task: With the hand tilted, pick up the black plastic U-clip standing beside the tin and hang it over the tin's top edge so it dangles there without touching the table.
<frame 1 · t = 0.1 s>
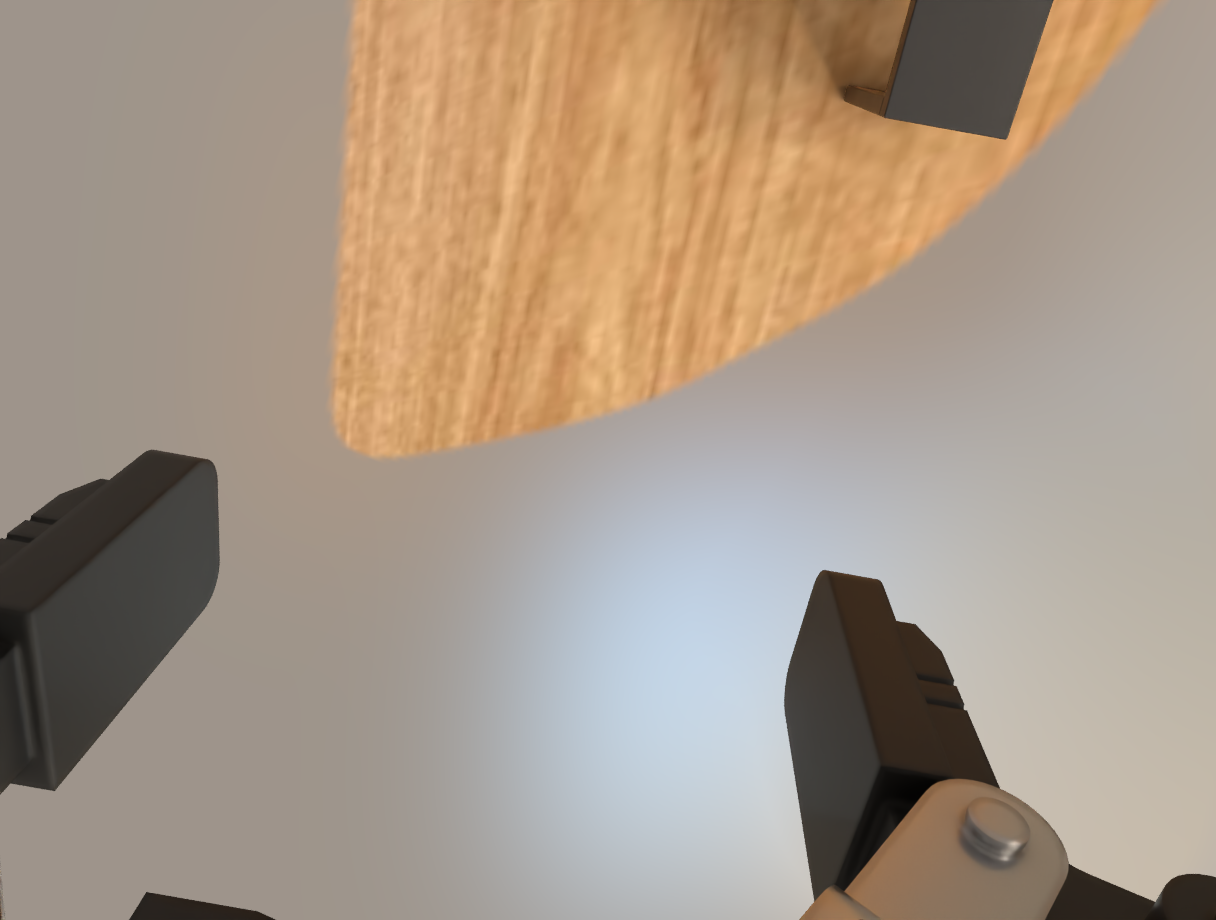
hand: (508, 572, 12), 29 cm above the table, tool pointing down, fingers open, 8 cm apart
clip: (912, 38, 35), on the table
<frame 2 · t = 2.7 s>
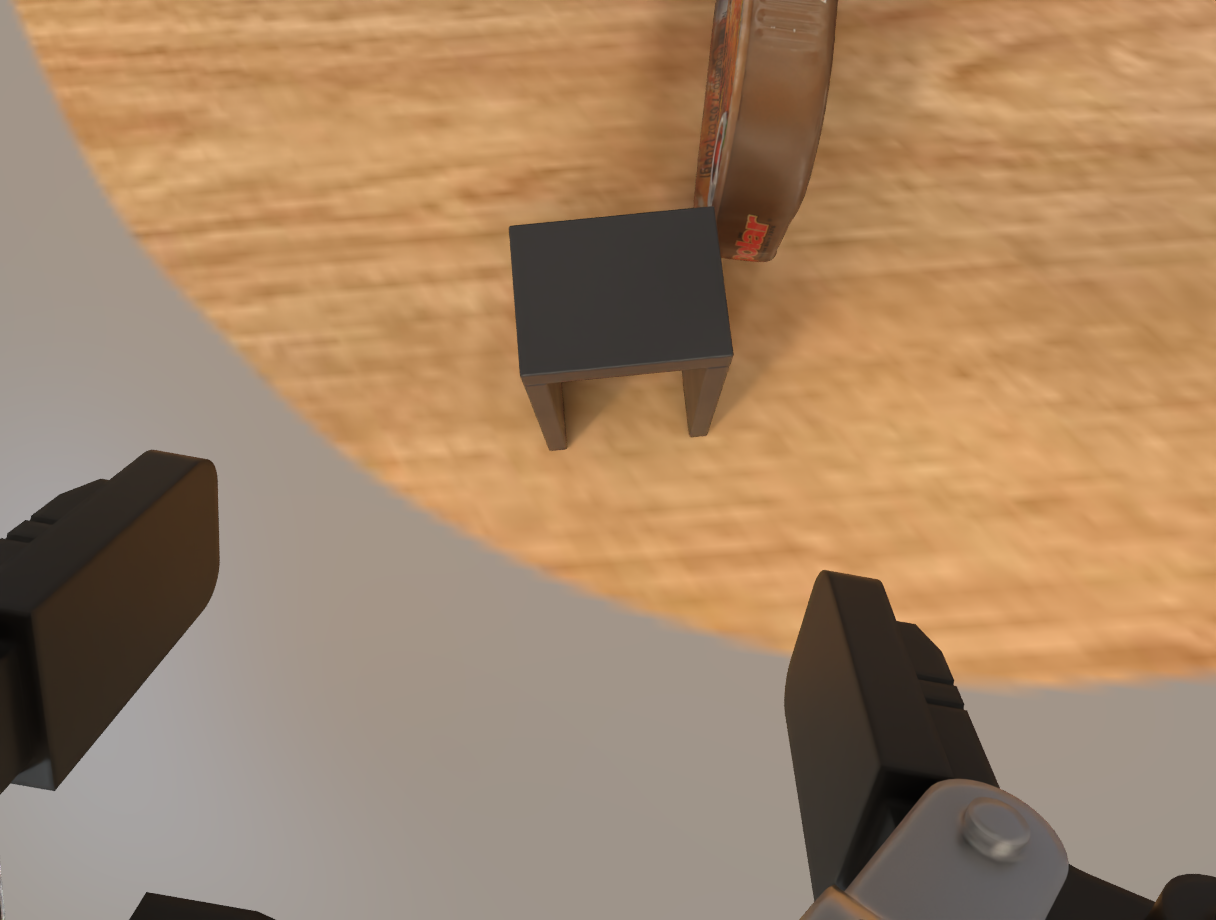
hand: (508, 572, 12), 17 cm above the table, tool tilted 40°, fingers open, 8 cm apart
clip: (622, 385, 30), on the table
tin: (747, 109, 33), on the table
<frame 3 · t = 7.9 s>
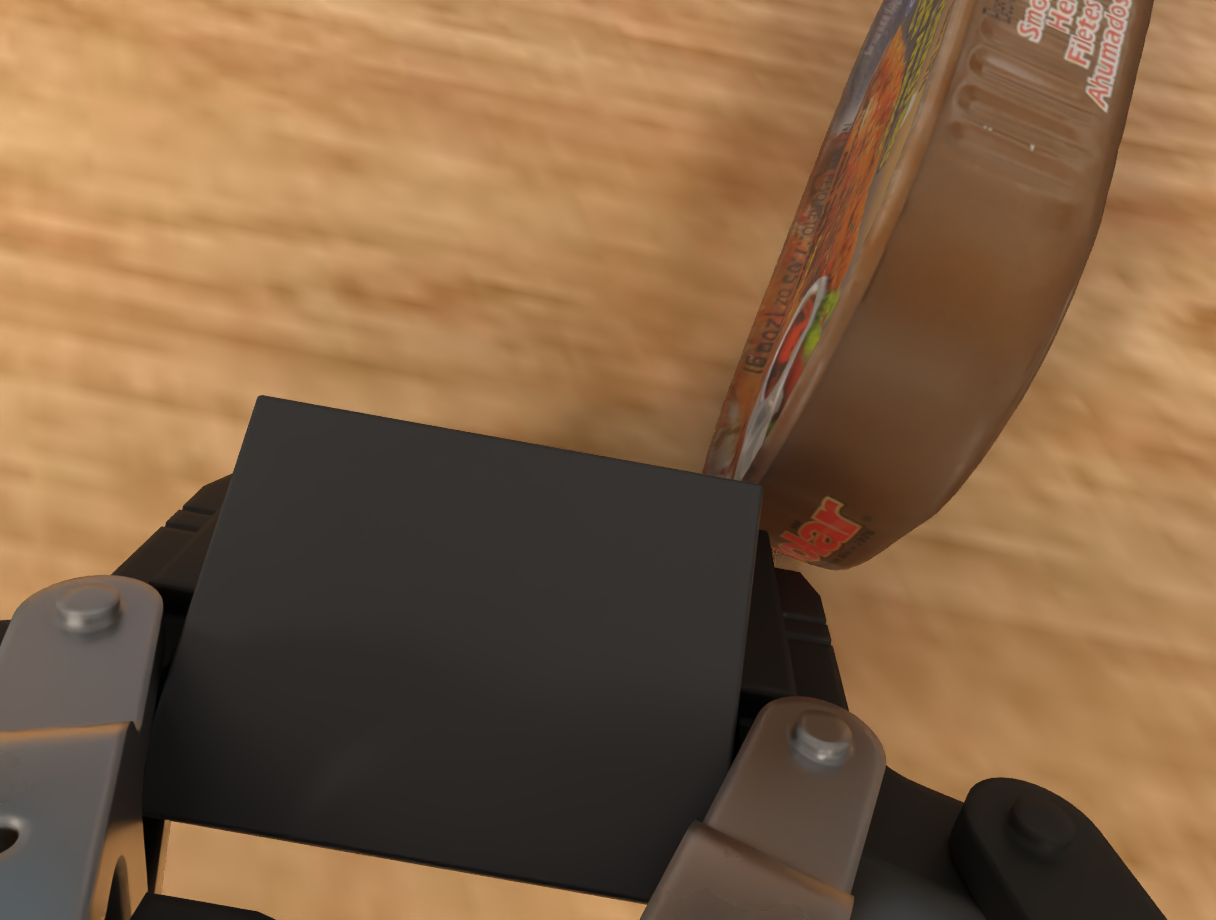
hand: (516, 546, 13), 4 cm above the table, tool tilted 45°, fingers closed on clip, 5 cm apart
clip: (504, 703, 16), on the table, touching gripper
tin: (847, 281, 20), on the table
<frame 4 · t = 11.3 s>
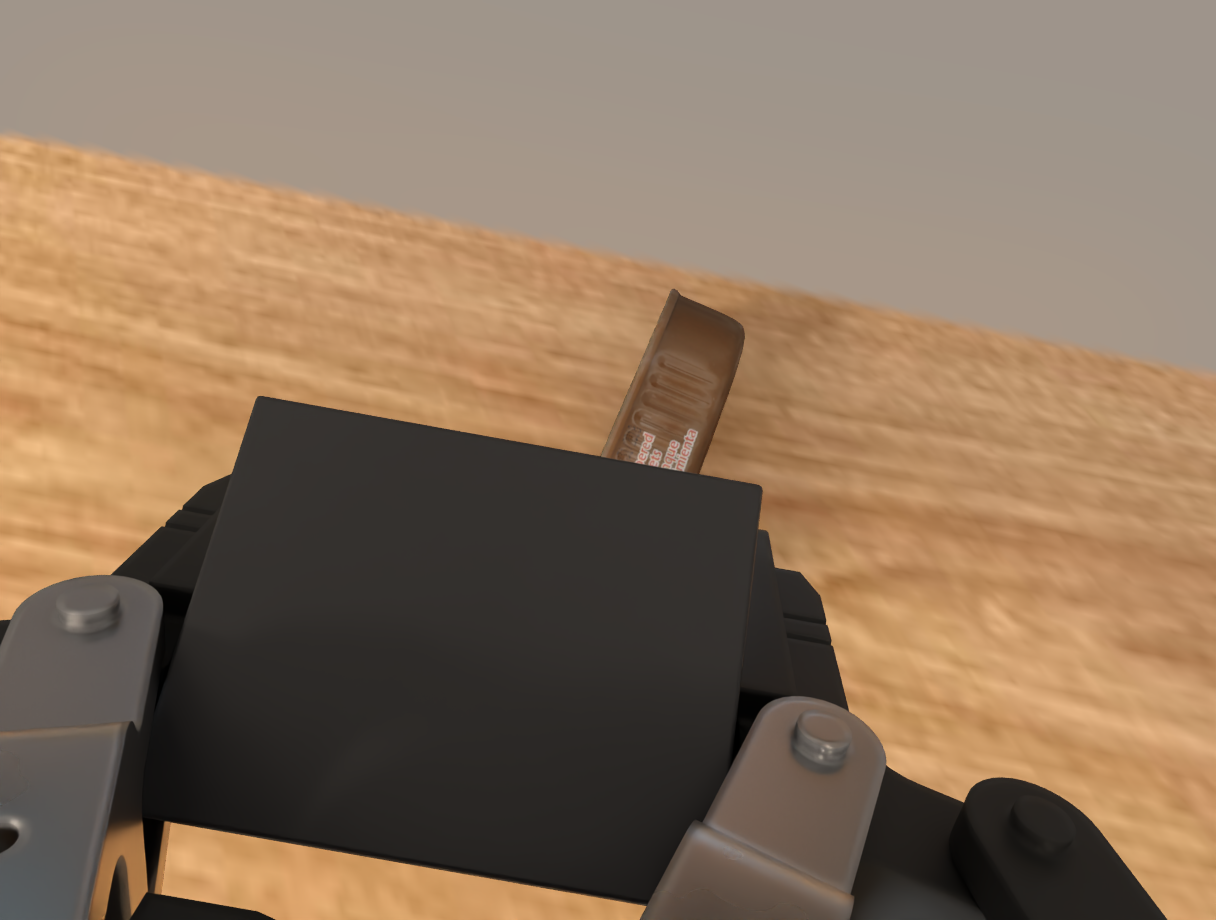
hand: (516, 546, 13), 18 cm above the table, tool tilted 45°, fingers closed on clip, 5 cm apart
clip: (503, 703, 16), point 14 cm above the table, touching gripper
tin: (606, 560, 31), on the table
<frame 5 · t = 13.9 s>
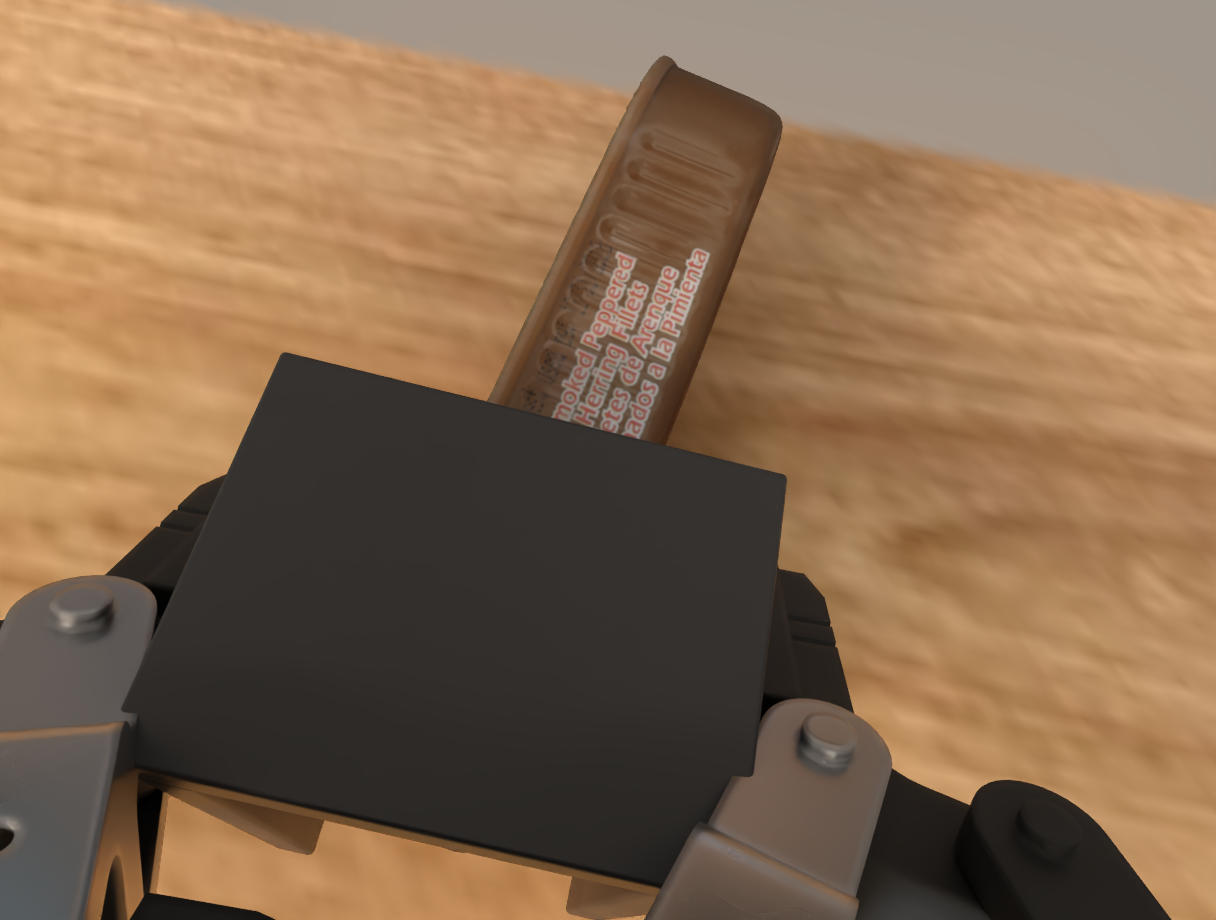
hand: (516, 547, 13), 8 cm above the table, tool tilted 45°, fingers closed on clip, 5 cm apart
clip: (473, 754, 15), point 4 cm above the table, tilted 10°, touching gripper
tin: (575, 501, 21), on the table
when the fingers open (6 cm above the table, at t = 15.0 s): clip drops 1 cm, resting on tin.
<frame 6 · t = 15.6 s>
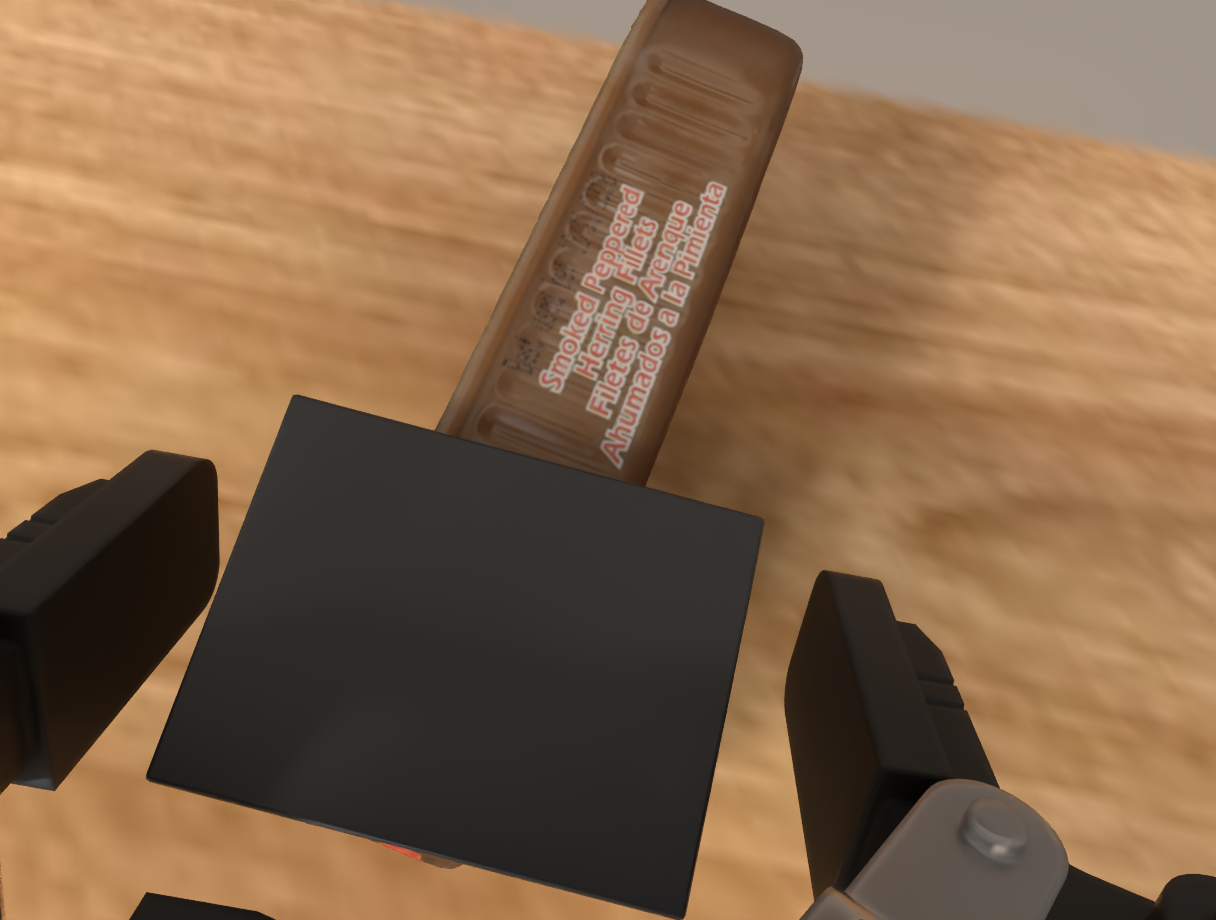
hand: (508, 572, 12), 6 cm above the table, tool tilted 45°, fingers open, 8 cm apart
clip: (499, 685, 17), point 1 cm above the table, touching tin
tin: (573, 481, 20), on the table, touching clip
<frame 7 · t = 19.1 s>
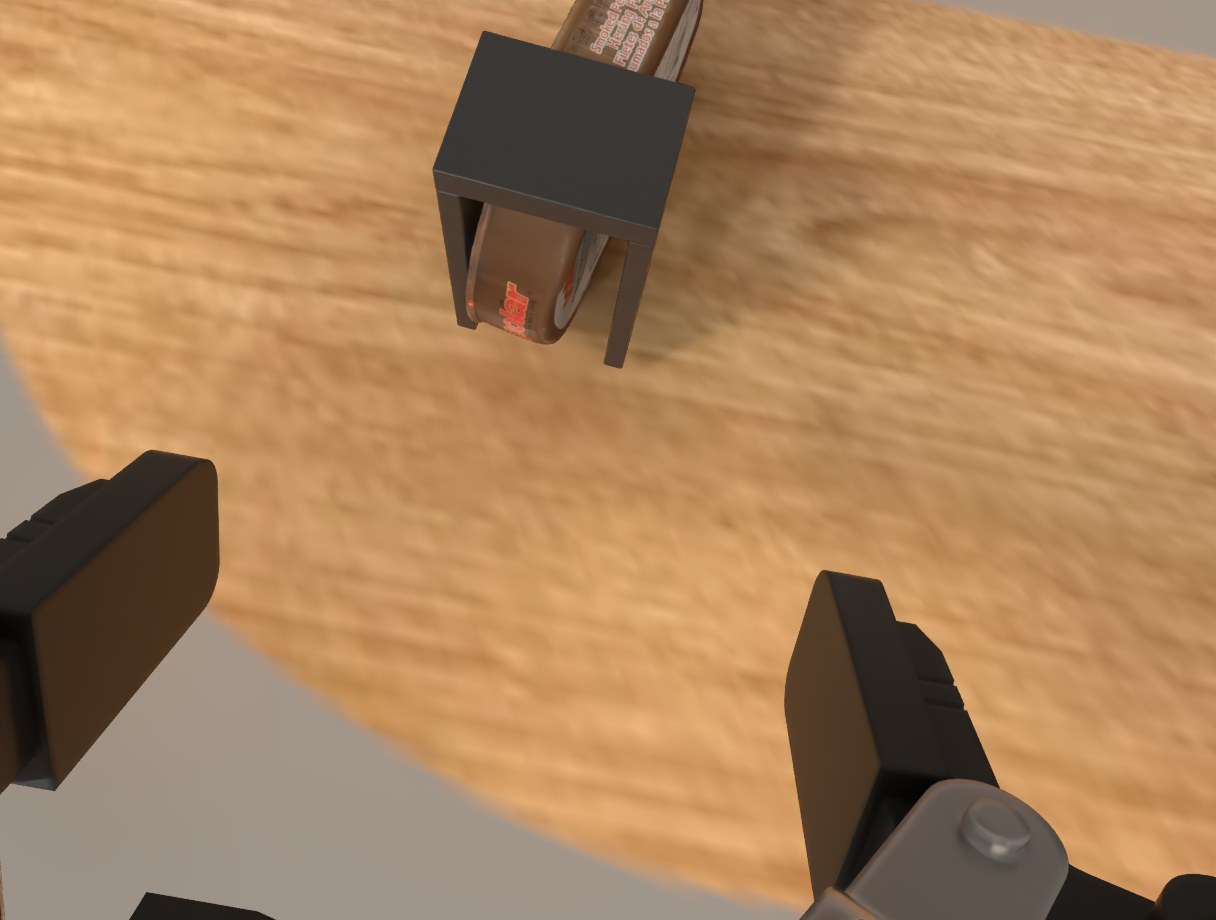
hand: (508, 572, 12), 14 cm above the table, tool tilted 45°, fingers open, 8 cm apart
clip: (556, 291, 28), point 1 cm above the table, touching tin
tin: (597, 200, 31), on the table, touching clip
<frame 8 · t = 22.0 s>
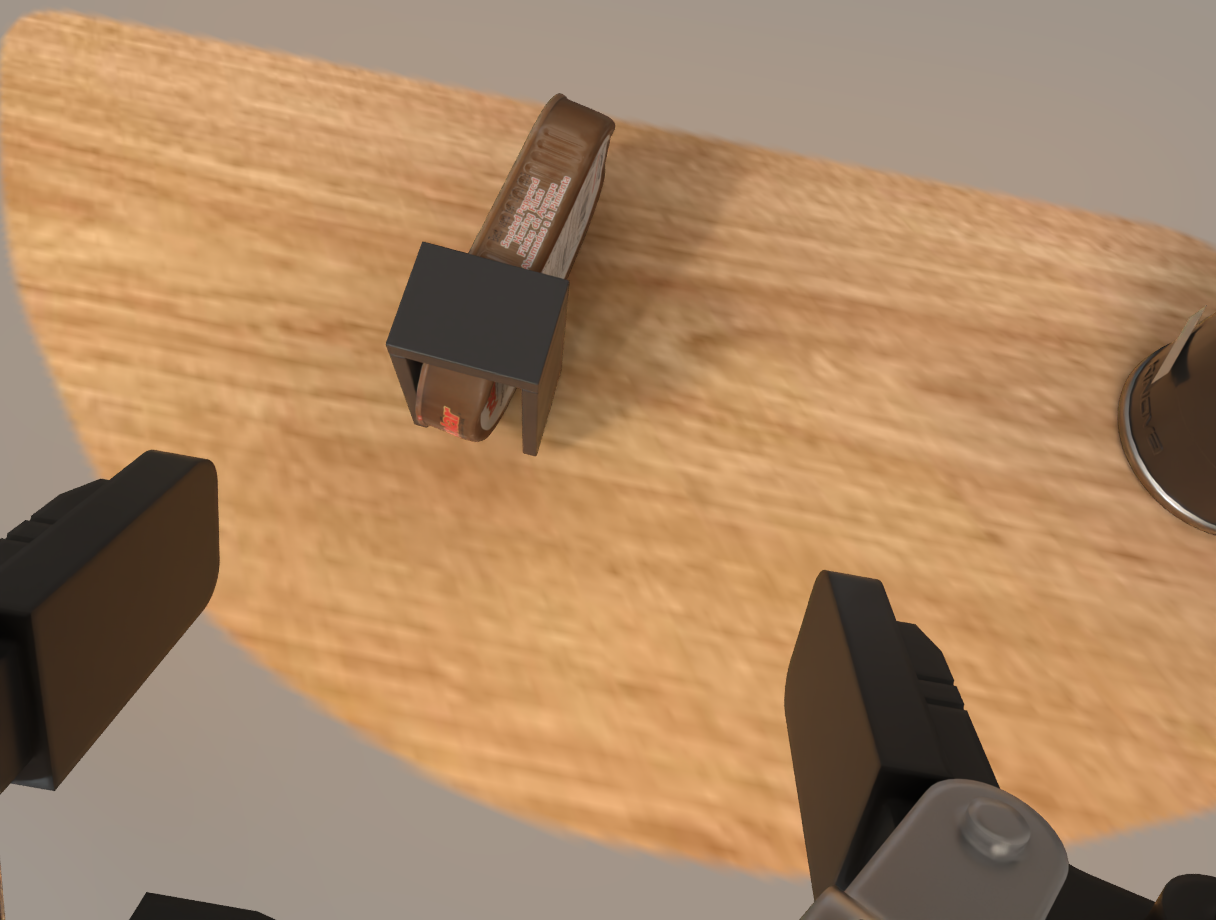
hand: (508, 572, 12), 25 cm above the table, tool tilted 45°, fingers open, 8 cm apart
clip: (488, 397, 38), point 1 cm above the table, touching tin
tin: (525, 320, 41), on the table, touching clip
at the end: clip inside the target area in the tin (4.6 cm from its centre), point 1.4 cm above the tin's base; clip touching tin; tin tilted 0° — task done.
